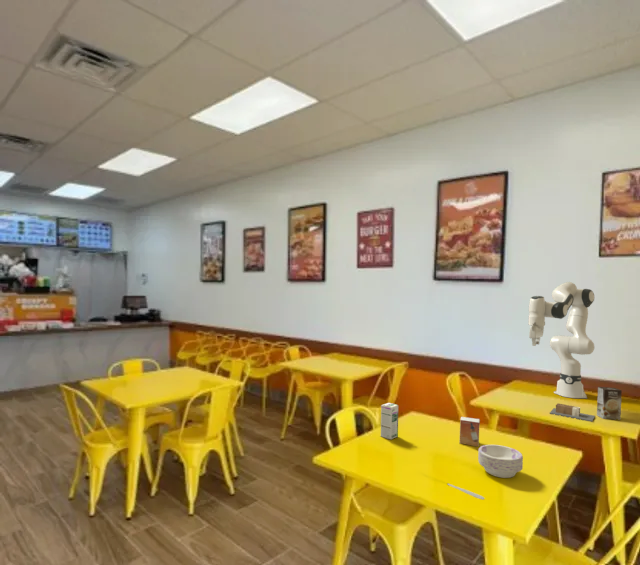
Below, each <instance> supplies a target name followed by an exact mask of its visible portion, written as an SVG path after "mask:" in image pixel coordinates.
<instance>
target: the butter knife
mask: <svg viewBox="0 0 640 565" xmlns="http://www.w3.org/2000/svg"><path fill="white" fill-rule="evenodd" d="M447 485H448V486H449V487H452V488H454V489H457V490H459V491H461V492H463V493H465V494H467V495H469V496H472V497H473V498H476V499H480V500H484V499H486V498H485V497H484V496H482V495H480V494H478V493H475V492H472V491H470V490H468V489H465V488H461V487H459V486H455V485H453V484H450V483H447Z"/></svg>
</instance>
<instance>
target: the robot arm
mask: <svg viewBox="0 0 640 565" xmlns="http://www.w3.org/2000/svg"><path fill="white" fill-rule="evenodd" d="M551 292H552V293H551V296H552V299H553V301H546V300H545V297H544V296H542V295H534V296H531V297H530V299H529V306H528V312H529V313H528V325H529V339H531V345H532V346H533V347H536V345H540V343H541V342H540V341H541V337H543V335H544V331H545V330H544V329H545V325H546V321H545V320H546V318H553V319H559V320H562V319H565V318H566V316H567V314H568V316H567V322H566V325H565V327H566V330H567V331H568V332H569V333H570V334H572V336H571V335H570V336H569V335H553V336H552V337H550V338H551V339H550V341H549V346H550V348H551V349H552V350H553V351H554V352H555V353H556V354H557V356H558V358H559V361H560V375H559V379H558V380H557V381H556V382H557V383H556V390H555V391H553V393H554V394H556V395H559V396H560V397H561V396H562V397H564V398H570V399H571V398H572V399H588V397H587V396H588V395H587V394H586V392H585V389H584V384H583V383H582V375H581V374H582V373H581V372H582V371H581V369H582V368H581V367H582V365H581V362H579V360H577V359H576V358H574V357H573V355H572V354H575V355H582V356H583V355H584V356H585V355H591V354H592V353H593V352H594V350H595V343H594V341H593V340H592V339H590V337H588V335H587V332H586V329H587V328H586V327H587V322H588V316H589V309H588V308H590V307H591V305H592V304H593V303H594V302H595V294H594V291H593V290H592V289H588V288H577V286H576V284H575V283H574V282H570V281H567V282H563V283H561V284H559V285H558V286H557V287H555V288H554V289H553V290H552V291H551ZM569 309H570V310H569ZM568 311H569V313H568Z"/></svg>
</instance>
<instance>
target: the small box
mask: <svg viewBox="0 0 640 565" xmlns="http://www.w3.org/2000/svg"><path fill="white" fill-rule="evenodd" d="M480 421H481V420H480V418H473V417H465V416H461V417H460V422H459V444H462V445H468V446H474V447H479V446H480V444H479V442H480Z"/></svg>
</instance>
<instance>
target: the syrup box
mask: <svg viewBox="0 0 640 565" xmlns="http://www.w3.org/2000/svg"><path fill="white" fill-rule="evenodd" d="M380 408H381V409H380V437H382V438H385V439H387V440H393V439H394V438H398V436H399V405H398V404H395V403H391V402H387V403H384V404H381V405H380Z"/></svg>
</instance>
